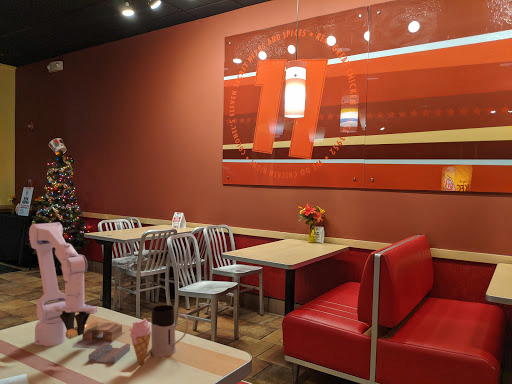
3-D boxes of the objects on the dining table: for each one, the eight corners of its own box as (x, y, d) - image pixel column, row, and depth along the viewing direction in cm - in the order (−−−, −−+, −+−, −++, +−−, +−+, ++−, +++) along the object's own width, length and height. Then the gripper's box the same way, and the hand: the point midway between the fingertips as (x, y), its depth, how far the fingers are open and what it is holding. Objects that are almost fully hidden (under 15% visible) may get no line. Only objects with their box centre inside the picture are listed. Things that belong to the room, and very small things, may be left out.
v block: (88, 364, 125) (88, 354, 125) (105, 351, 135) (105, 342, 135) (114, 366, 124) (114, 356, 124) (129, 353, 133) (129, 343, 133)
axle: (65, 339, 126) (65, 329, 126) (90, 328, 140) (90, 320, 140) (73, 339, 125) (74, 329, 126) (98, 328, 139) (98, 320, 139)
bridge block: (71, 349, 136) (71, 334, 136) (96, 333, 151) (96, 319, 151) (103, 351, 135) (103, 336, 134) (125, 335, 149) (124, 321, 149)
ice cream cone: (144, 370, 121) (143, 322, 121) (126, 368, 122) (125, 321, 122) (154, 361, 127) (153, 315, 127) (136, 359, 129) (136, 314, 128)
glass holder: (160, 344, 140) (159, 303, 140) (194, 350, 135) (194, 307, 135) (145, 354, 132) (144, 310, 132) (181, 361, 127) (180, 315, 127)
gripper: (46, 295, 126) (47, 337, 126) (87, 297, 123) (88, 340, 124) (61, 289, 133) (61, 329, 133) (100, 291, 130) (101, 331, 131)
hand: (75, 334), depth 129 cm, fingers closed on axle, 3 cm apart
